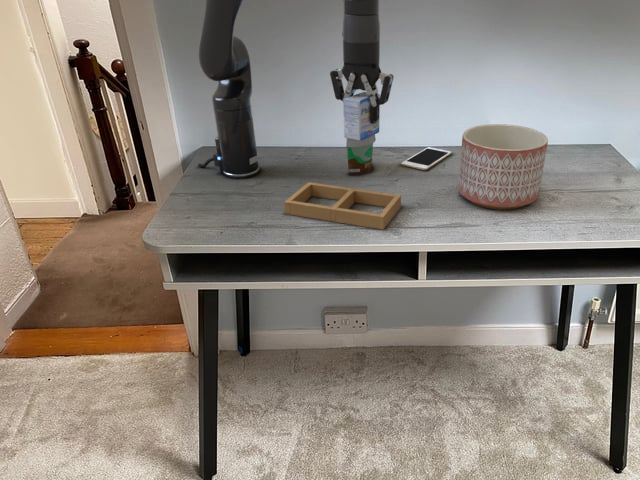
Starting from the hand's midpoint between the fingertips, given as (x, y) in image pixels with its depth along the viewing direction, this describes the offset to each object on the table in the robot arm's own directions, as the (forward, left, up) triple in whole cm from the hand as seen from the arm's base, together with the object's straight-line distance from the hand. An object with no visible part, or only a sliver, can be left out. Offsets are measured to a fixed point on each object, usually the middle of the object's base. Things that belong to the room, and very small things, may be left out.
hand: (361, 121), depth 122 cm
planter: (+30, +13, -19) cm, 38 cm away
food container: (-7, +19, -19) cm, 28 cm away
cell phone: (+7, +32, -19) cm, 38 cm away
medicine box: (0, 0, -3) cm, 3 cm away
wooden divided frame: (-2, -7, -19) cm, 20 cm away
